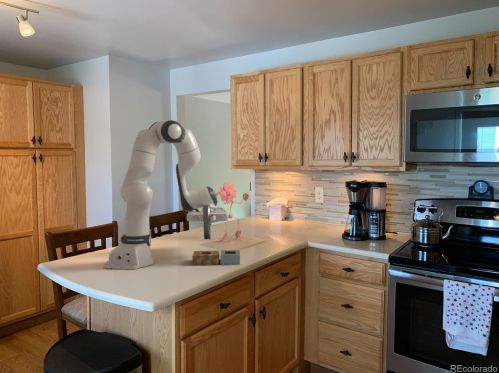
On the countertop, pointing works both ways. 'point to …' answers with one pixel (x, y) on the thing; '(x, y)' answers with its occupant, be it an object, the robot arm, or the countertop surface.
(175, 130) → the robot arm
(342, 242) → the countertop surface
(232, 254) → the socket block
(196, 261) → the wooden square hole block
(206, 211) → the steel axle
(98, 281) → the countertop surface
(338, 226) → the countertop surface
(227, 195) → the figurine
